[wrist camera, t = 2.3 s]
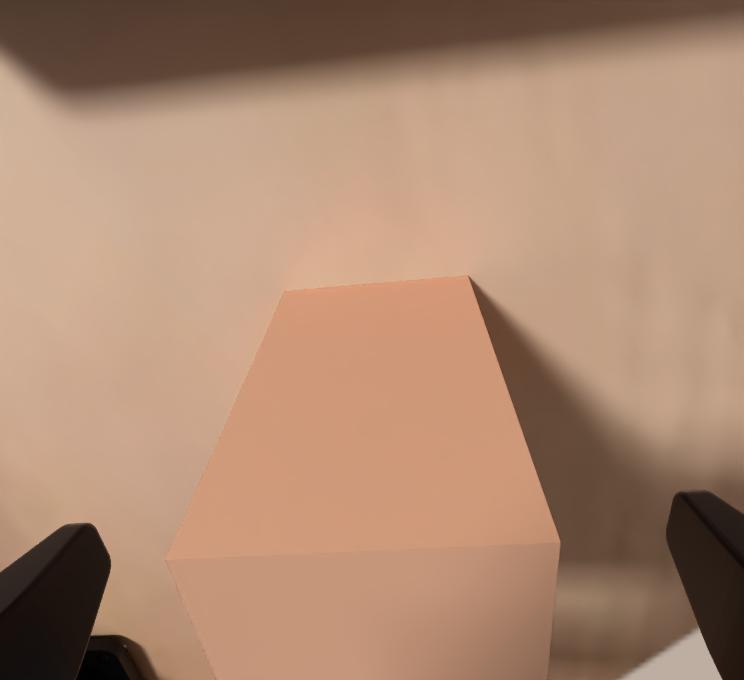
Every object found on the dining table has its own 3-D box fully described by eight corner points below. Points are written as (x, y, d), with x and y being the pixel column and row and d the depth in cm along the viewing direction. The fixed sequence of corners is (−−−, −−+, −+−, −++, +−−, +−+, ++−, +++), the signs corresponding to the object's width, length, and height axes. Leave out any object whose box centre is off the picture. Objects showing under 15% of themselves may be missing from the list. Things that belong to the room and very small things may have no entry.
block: (470, 424, 13) (540, 749, 7) (313, 434, 13) (247, 753, 7) (467, 275, 11) (560, 542, 5) (284, 290, 12) (165, 560, 5)
